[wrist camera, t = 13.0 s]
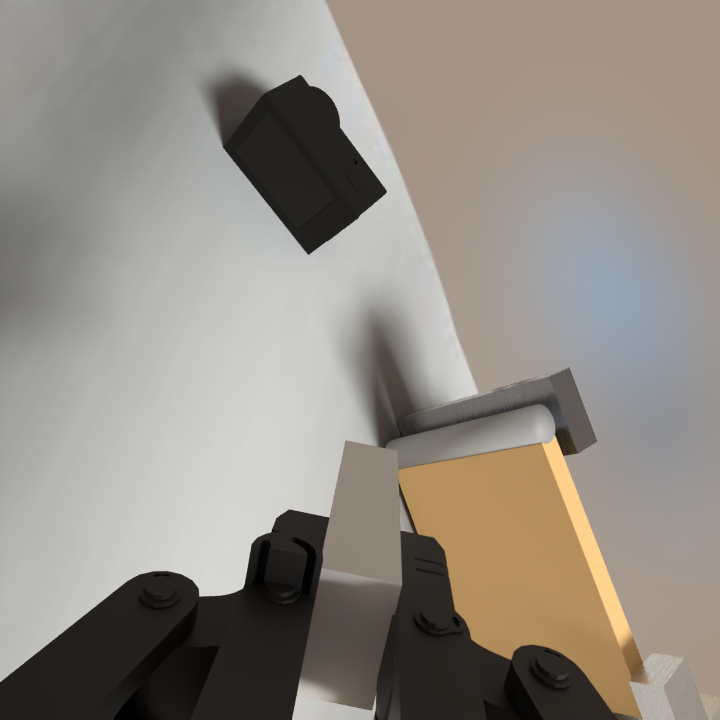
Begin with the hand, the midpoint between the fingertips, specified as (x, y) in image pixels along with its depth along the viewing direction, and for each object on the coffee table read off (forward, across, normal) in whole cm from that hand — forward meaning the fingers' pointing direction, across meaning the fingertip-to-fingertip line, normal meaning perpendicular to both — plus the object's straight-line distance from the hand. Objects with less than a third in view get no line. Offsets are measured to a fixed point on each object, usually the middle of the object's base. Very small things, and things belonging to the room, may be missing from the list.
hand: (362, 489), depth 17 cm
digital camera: (+34, -10, +9) cm, 36 cm away
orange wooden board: (+26, +8, -16) cm, 32 cm away
